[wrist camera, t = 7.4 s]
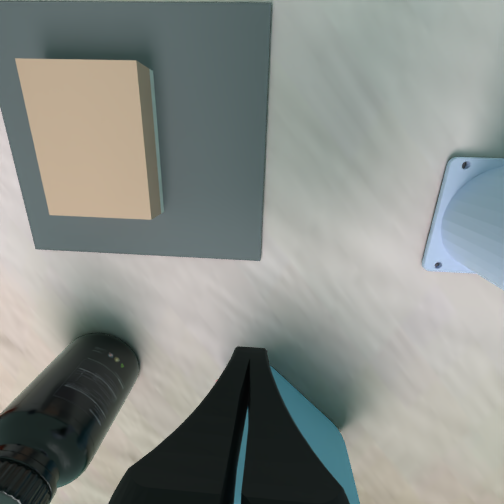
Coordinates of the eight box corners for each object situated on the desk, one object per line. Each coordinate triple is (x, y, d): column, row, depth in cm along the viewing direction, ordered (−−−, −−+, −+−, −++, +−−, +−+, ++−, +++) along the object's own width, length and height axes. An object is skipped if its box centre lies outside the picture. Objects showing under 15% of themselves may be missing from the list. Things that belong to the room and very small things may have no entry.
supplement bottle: (111, 399, 29) (7, 563, 17) (56, 355, 27) (-97, 503, 16) (157, 365, 27) (73, 525, 16) (100, 316, 25) (-38, 454, 14)
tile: (136, 60, 16) (14, 58, 16) (151, 219, 19) (49, 215, 19) (153, 71, 18) (46, 68, 18) (164, 211, 21) (72, 207, 22)
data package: (225, 379, 27) (191, 548, 16) (260, 354, 26) (251, 518, 14) (307, 450, 29) (328, 639, 18) (343, 431, 28) (390, 620, 17)
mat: (271, 5, 17) (271, 2, 16) (260, 259, 22) (260, 260, 22) (-22, 3, 18) (-26, 1, 17) (38, 247, 23) (35, 249, 23)
